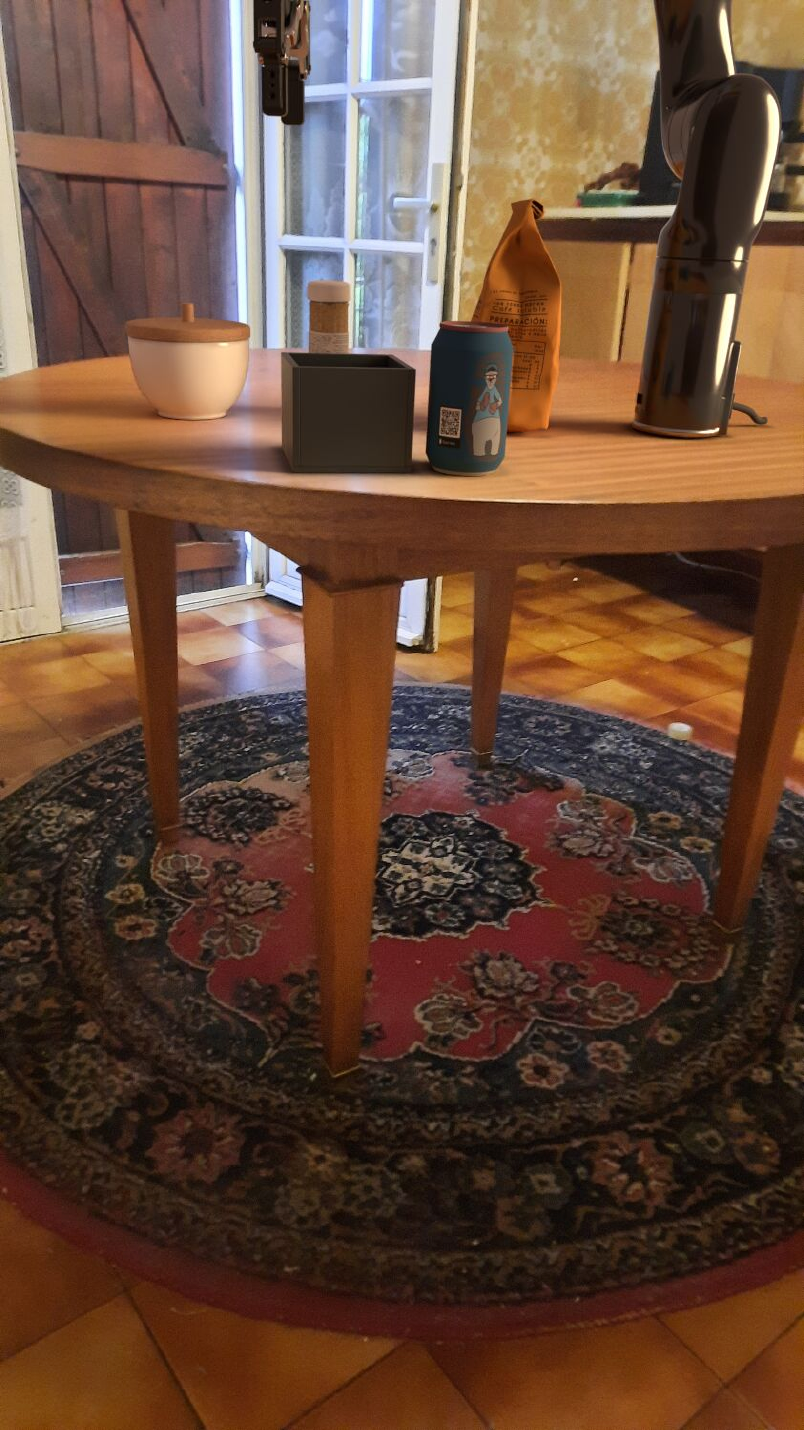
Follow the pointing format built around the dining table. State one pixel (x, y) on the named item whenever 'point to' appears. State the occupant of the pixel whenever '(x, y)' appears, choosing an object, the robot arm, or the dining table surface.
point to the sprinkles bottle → (328, 316)
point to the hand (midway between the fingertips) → (284, 121)
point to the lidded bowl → (189, 363)
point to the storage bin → (347, 412)
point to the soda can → (469, 397)
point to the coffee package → (525, 315)
